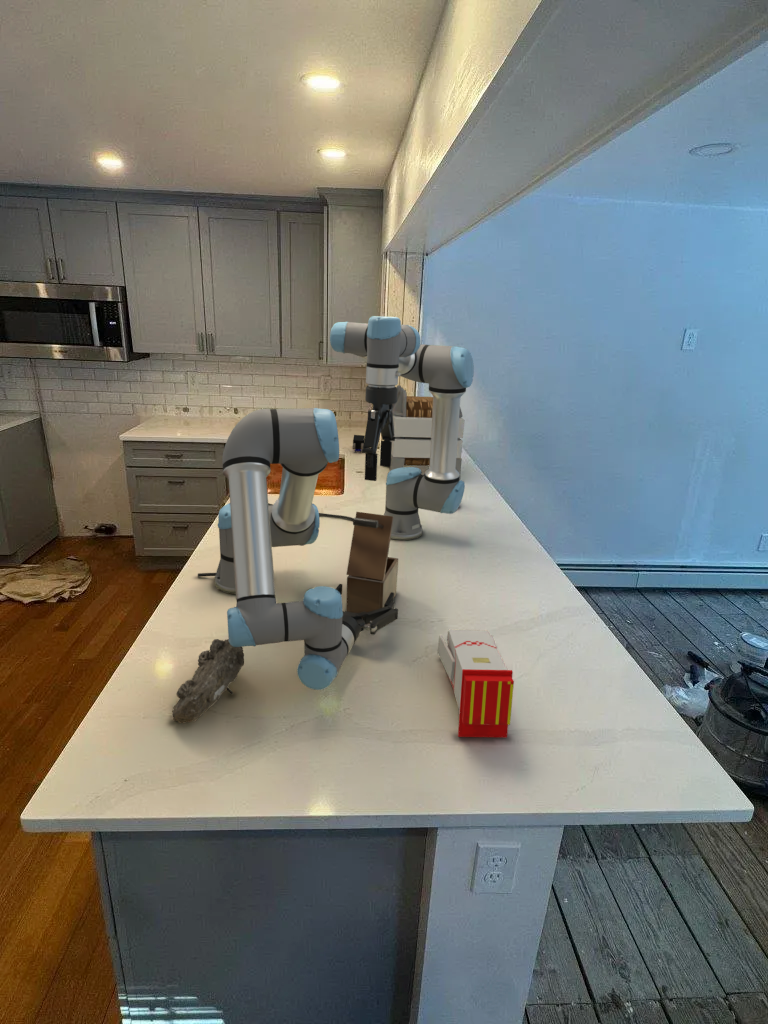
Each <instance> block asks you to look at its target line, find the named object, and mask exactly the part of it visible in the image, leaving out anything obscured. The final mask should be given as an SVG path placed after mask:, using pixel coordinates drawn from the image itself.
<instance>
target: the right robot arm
mask: <svg viewBox="0 0 768 1024" xmlns="http://www.w3.org/2000/svg"><path fill="white" fill-rule="evenodd" d="M329 333H330V335H329V342H330V346H331V348H332V350H333V351H334V352H336V353H342V354H351V355H354V356H357V357H360V358H362V359H365V360H366V366H365V383H366V387H365V396H364V397H365V399H364V400H365V402H366V403H368V404H371V405H372V409H368V411H367V420H366V426H365V433H364V436H365V437H364V445H363V449H362V450H361V454H364V455H365V456H364V458H365V459H364V481H369V482H377V479H378V478H377V476H378V456H379V466H380V467H387V468H390V466H391V450H392V442H391V441H395V437H394V435H395V434H394V423H393V404H395V403H396V402H397V391H398V389H397V386H398V385H399V377H402V378H404V379H407V380H410V381H412V382H416V383H420V384H428V392H429V393H430V394H431V395H432V397H433V410H432V429H431V448H430V466H428V468H427V469H426V470H424V474H422V470H421V468H419V467H416V466H406V467H405V466H404V467H403V468H397V469H393V470H391V471H390V470H389V471H388V473H387V475H386V482H385V504H384V505H385V507H384V508H385V509H384V513H383V515H386V516H393V517H394V519H393V525H392V532H391V539H390V540H395V541H410V540H415V539H418V538H420V537H421V536H422V535H423V525H422V524H421V518H420V515H419V509H420V510H424V511H430V512H435V513H440V514H449V515H452V514H454V513H456V512H457V510H458V509H459V508H460V505H461V502H462V500H463V497H464V493H465V489H466V487H465V486H466V485H465V481H463V480H462V479H460V480H459V476H460V477H461V474H459V472H458V471H457V470H456V469H455V468H456V453H457V439H458V425H459V412H460V408H461V399H462V398H461V397H462V396H464V395H465V394H466V392H467V388H471V386H472V384H473V380H474V379H473V378H474V375H475V374H474V373H475V371H474V370H475V367H474V359H473V355H472V352H470V350H469V349H468V348H466V347H461V346H456V345H441V344H440V345H438V344H424V343H423V344H422V343H421V341H422V339H421V335H420V333H419V331H418V330H417V329H416V327H414V326H412V325H409V324H402V321H401V319H400V318H399V317H397V316H382V315H381V316H380V315H379V316H378V315H372V316H370V317H369V319H368V322H367V323H366V322H365V323H364V322H351V321H337V322H335V323H334V324H333V325H332V326H331V330H330V332H329ZM380 438H381V439H382V440H381V441H380ZM379 442H380V455H378V452H377V450H378V446H379ZM228 497H229V498H230V494H229V495H228ZM273 504H274V503H273ZM273 504H272V503H269V502H268V505H273ZM320 516H322V517H330V518H337V519H343V520H345V519H346V520H350V521H353V520H354V518H355V517H352V516H347V515H339V514H331V513H323V512H319V517H320Z"/></svg>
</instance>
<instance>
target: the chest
mask: <svg viewBox="0 0 768 1024" xmlns="http://www.w3.org/2000/svg"><path fill="white" fill-rule="evenodd" d="M398 571H399V558H397V557H391V556H388V559H387V565H386V572H385V578H384V581H383V580H376V579H370V578H364V577H358V576H351V575H347V578H346V604H345V605H346V606H345V607H346V609H345V611H348V612H352V613H361V612H364V611H365V612H366V613H367V612H370V611H373V610H376V609H380V608H383V607H384V604H385V602H386V601H387V599H388V597H389V595H390V593H391V592H392V593H394V598H396V595H397V590H398V574H399V573H398ZM362 619H363V617H362Z"/></svg>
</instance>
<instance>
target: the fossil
mask: <svg viewBox="0 0 768 1024" xmlns="http://www.w3.org/2000/svg"><path fill="white" fill-rule="evenodd" d="M197 665H198V667H197V668H196V670H195V671H194V673H193V675H192V678H191V679H187V680H186V681H185V682H184V683H182V684H181V685H180V686H179V687H178V689H177V691H176V693H175V694H176V696H177V698H179V699H178V700H177V702H176V704H174V705H173V706H172V711H171V713H172V714H171V715H172V720H173V722H178V724H186V723H190V722H195V721H197V720H198V719H199V718H201V716H202V715H203V714H205V713H206V712H207V711H208V710H209V709H210V708H211V707H212V706H213V705H215V703H217V702H218V701H219V699H220V698H221V696H222V694H223V693H226V691H227V692H228V693H229V694H230V695H233V694H234V692H233V691H232V689H230V688H229V686H230V684H231V683H234V682H235V680H236V679H237V678H238V675H239V673H240V671H241V669H242V667H243V666H245V653H244V647H233V646H232V645H230V643H229V638H226V639H225V640H223V639H219V638H214V639H213V640H212V641H211V644H210V646H209V650H204V651H201V653H199V655H198V659H197Z"/></svg>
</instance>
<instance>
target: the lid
mask: <svg viewBox="0 0 768 1024" xmlns="http://www.w3.org/2000/svg"><path fill="white" fill-rule="evenodd" d="M353 518H354V520H352V525H353V530H352V537H351V544H350V550H349V555H348V556H349V557H348V563H347V568H346V569H347V570H346V575H347V576H348V575H351V576H358V577H364V578H370V579H376V580H383V581H384V578H385V572H386V565H387V559H388V557H389V550H390V544H391V540H392V539H391V532H392V525H393V519H394V517H393V516H386V515H384V514H379V513H371V512H370V513H369V512H362V511H356V512H355V517H353Z"/></svg>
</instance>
